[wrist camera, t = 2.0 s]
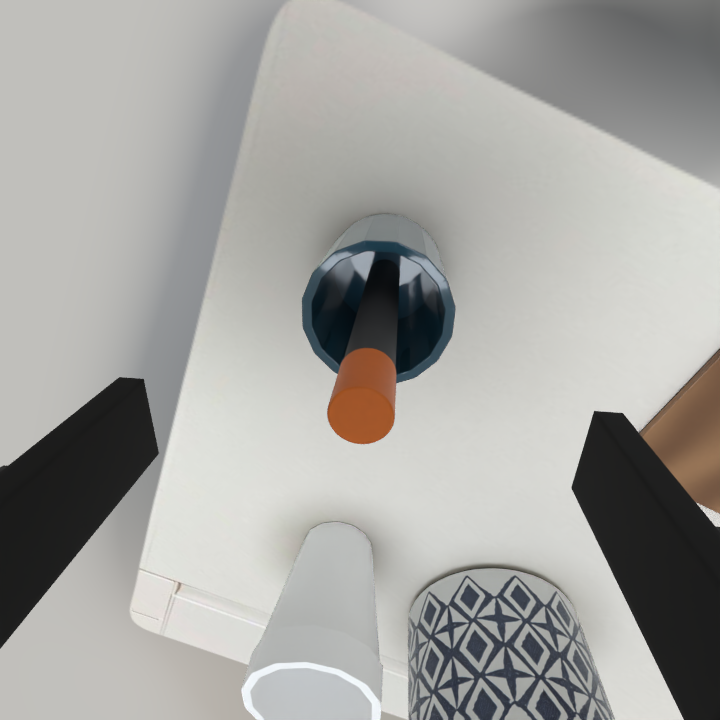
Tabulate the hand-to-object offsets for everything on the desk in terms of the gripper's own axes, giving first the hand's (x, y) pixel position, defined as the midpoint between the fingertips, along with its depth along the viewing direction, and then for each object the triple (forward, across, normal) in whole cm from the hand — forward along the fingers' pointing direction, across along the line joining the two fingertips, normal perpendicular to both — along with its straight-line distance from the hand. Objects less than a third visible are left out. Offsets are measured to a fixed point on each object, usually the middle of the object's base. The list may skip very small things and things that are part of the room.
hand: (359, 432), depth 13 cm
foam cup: (+19, -3, -26) cm, 32 cm away
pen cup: (+18, 0, 0) cm, 18 cm away
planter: (+19, +12, -34) cm, 40 cm away
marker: (+18, 0, 0) cm, 18 cm away
